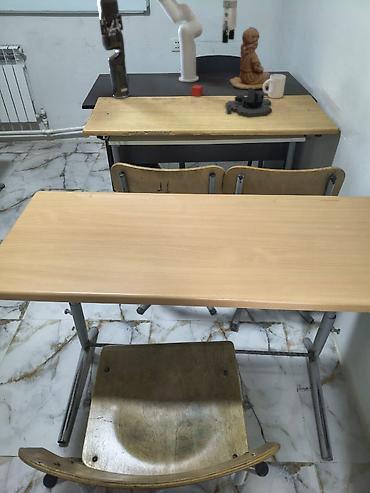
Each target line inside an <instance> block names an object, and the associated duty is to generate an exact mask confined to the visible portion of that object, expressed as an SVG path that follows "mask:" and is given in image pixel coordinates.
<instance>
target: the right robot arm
mask: <svg viewBox="0 0 370 493" xmlns="http://www.w3.org/2000/svg"><path fill="white" fill-rule="evenodd" d="M156 2H157V4H159V5H160V7H161V9H162V10H163V11H164V13H165V15H166V16H167V17H168V18H169V20H170V21H171V23H172V24H173V25H180V26H179V27H178V30H177V36H178V40H179V52H180V76H179V77H178V81H179V82H181V83H194V82H198V81H199V76H198V75H197V47H196V42H195V39H197V38H199V37H200V36H201V35H202V34H203V30H204V29H203V24H202V22H201V20H200V19H199V17H198V16H197V15H196V13H195V11H194V10H193V9H192V7H191V6H190V5H188V3H179V2H178V1H177V0H156ZM222 9H223V14H222V27H221V28H222V32H221V33H222V34H221V35H222V36H221V37H222V38H221V40H222V41H221V43H222V44H228V43H229V40H232V41H233V40H235V31H236V30H235V29H236V28H237V17H238V16H237V15H238V13H237V9H238V0H222Z"/></svg>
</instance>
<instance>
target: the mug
mask: <svg viewBox="0 0 370 493" xmlns="http://www.w3.org/2000/svg"><path fill="white" fill-rule="evenodd" d="M286 78H287V77H286V75H285V74H281V73H273V74H270V77H269V79H268V80H266V81H265V82H264V84H263V88H262V91H263V93H264V94H267V96H268V97H269V98H272V99H281V98H283V96H284V92H285V85H286ZM267 83H269V87H268V90H266V88H265V86H266V84H267Z"/></svg>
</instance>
